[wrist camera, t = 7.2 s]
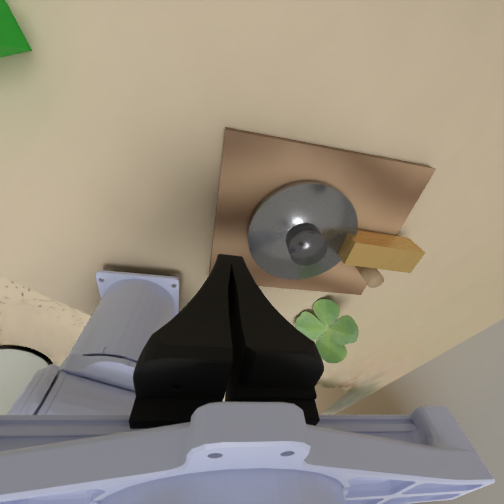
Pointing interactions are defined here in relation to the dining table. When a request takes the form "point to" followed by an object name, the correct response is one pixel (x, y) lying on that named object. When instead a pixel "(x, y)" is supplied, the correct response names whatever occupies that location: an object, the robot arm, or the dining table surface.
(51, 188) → the dining table surface
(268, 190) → the board
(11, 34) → the mechanical part
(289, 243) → the pan with wooden handle
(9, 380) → the water bottle
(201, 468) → the robot arm
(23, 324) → the dining table surface
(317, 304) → the seedling
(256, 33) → the dining table surface
